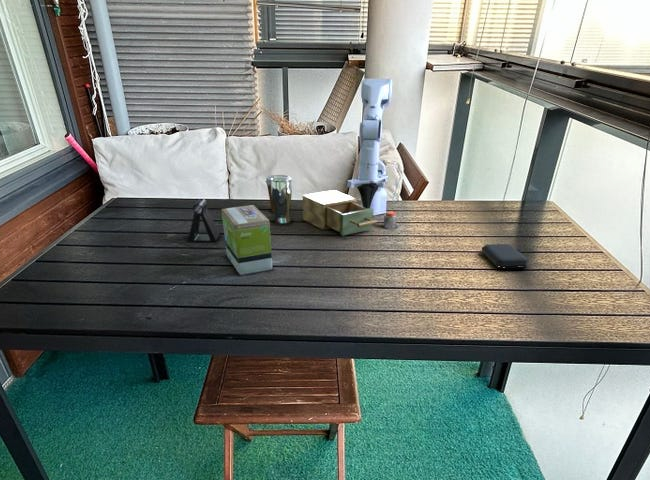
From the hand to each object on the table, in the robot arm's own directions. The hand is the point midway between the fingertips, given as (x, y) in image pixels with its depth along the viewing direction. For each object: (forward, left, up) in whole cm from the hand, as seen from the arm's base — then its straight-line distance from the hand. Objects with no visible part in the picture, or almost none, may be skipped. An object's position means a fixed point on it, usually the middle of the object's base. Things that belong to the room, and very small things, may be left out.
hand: (366, 207), depth 157 cm
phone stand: (+46, -26, -9) cm, 54 cm away
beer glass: (+16, -27, -9) cm, 33 cm away
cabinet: (+2, -19, -9) cm, 21 cm away
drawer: (+2, -5, -8) cm, 10 cm away
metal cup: (+10, -40, -10) cm, 42 cm away
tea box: (+43, +1, -9) cm, 44 cm away
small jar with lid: (-13, -2, -9) cm, 16 cm away
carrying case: (-22, +40, -9) cm, 47 cm away
